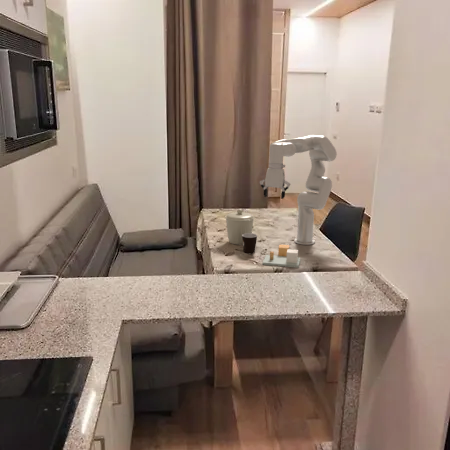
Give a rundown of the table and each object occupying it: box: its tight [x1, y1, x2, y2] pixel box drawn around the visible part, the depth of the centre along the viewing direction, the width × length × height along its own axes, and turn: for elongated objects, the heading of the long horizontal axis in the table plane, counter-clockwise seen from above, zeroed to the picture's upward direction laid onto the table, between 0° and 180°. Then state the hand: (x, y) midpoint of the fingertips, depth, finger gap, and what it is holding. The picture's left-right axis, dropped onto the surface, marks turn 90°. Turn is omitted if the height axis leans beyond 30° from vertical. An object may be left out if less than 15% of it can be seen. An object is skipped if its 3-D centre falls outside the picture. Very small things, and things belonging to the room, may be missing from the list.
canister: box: [224, 208, 256, 246], centre depth 273 cm, size 18×18×21 cm
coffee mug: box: [242, 233, 258, 255], centre depth 258 cm, size 12×9×10 cm
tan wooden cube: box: [277, 244, 291, 256], centre depth 252 cm, size 6×6×6 cm
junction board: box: [262, 248, 301, 268], centre depth 241 cm, size 13×19×7 cm
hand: (274, 197), depth 247 cm, fingers open, 9 cm apart
